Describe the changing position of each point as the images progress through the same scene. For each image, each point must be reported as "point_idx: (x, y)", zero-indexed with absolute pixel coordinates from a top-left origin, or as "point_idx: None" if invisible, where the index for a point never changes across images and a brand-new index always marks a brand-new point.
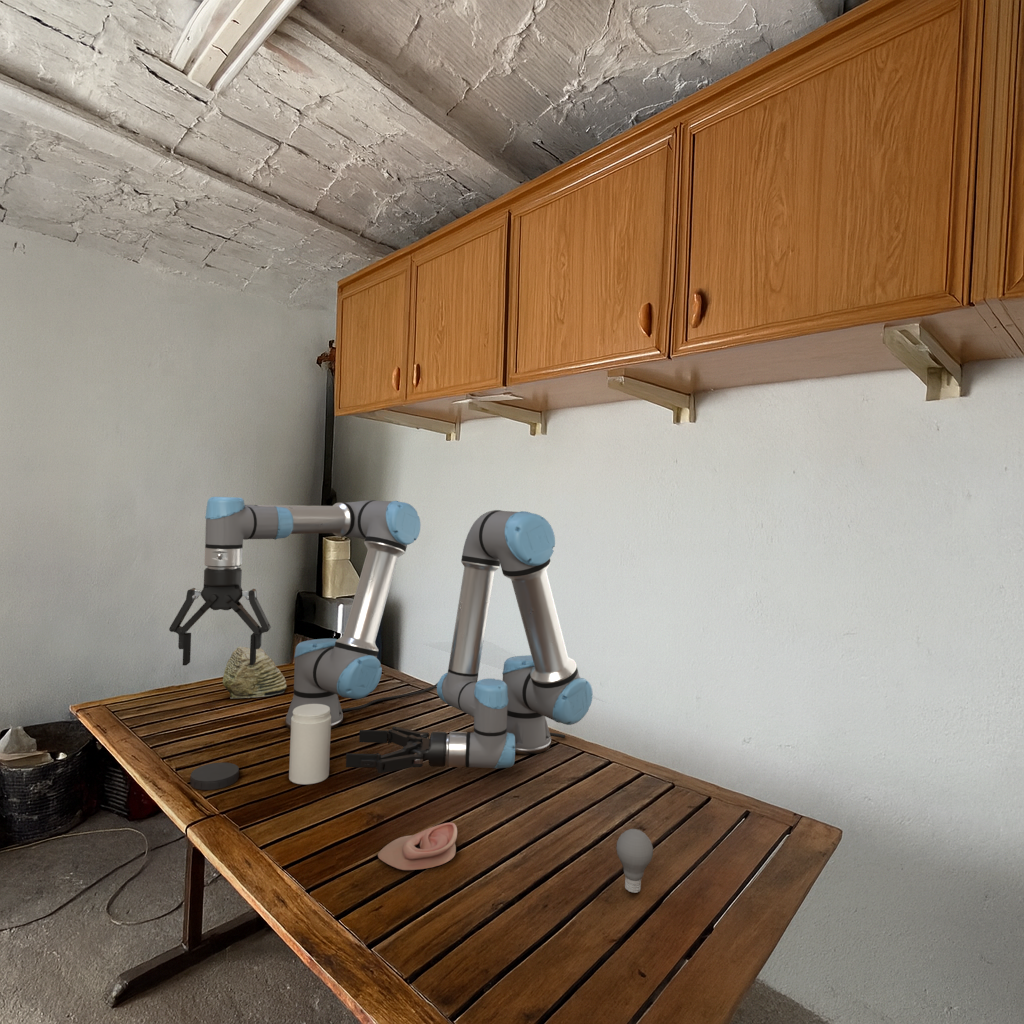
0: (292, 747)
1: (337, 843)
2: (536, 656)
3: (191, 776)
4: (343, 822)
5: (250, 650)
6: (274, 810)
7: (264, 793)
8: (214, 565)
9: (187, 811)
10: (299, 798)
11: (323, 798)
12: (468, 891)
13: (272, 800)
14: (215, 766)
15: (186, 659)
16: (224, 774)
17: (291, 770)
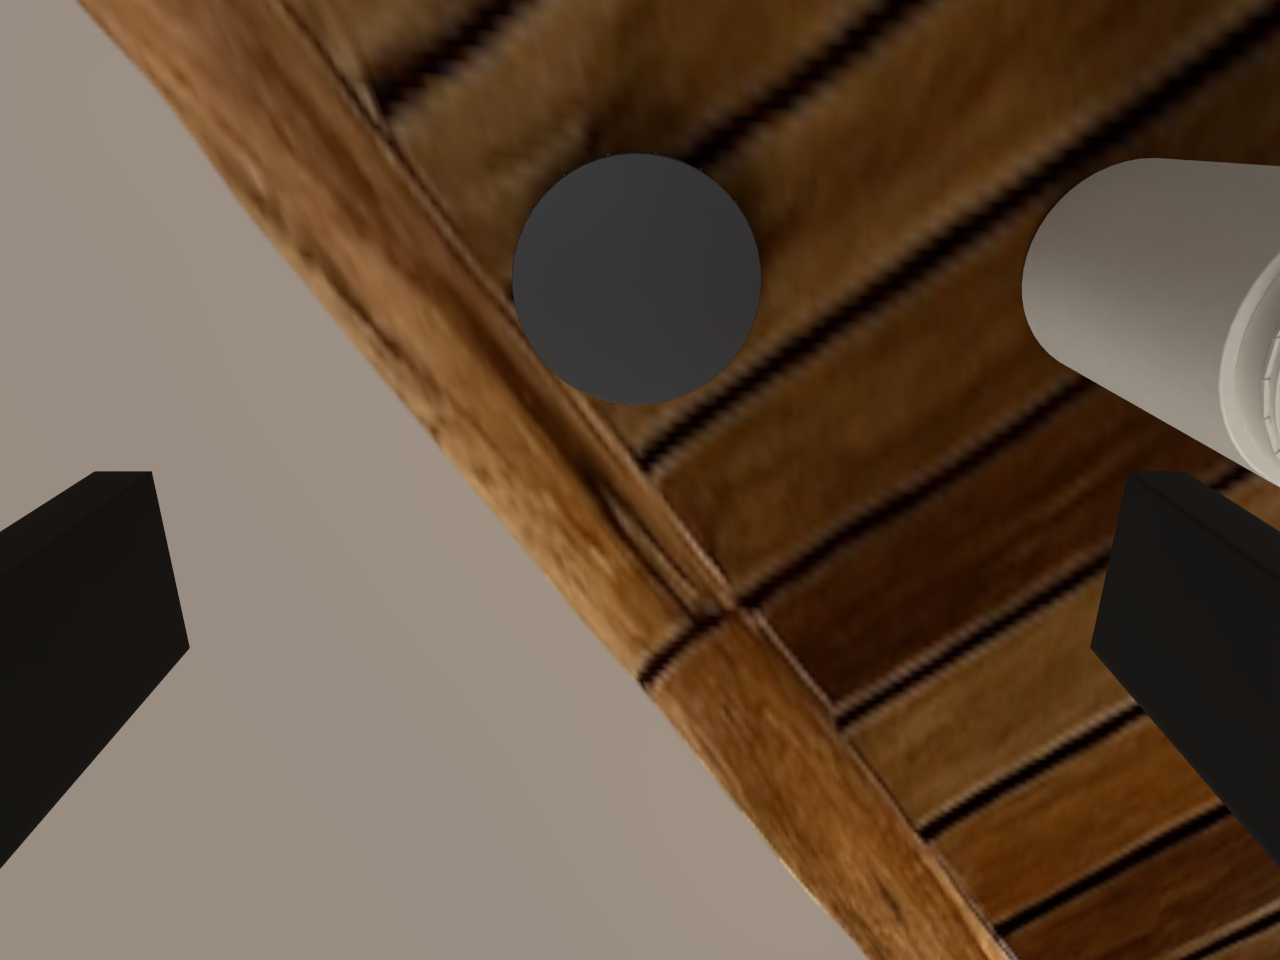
0: (1123, 380)
1: (1176, 836)
2: None
3: (528, 339)
4: None
5: (1233, 811)
6: (957, 604)
7: (905, 449)
8: None
9: (601, 578)
10: (1065, 512)
11: None
12: None
13: (945, 519)
14: (620, 213)
15: (141, 699)
16: (696, 331)
17: (1056, 345)
